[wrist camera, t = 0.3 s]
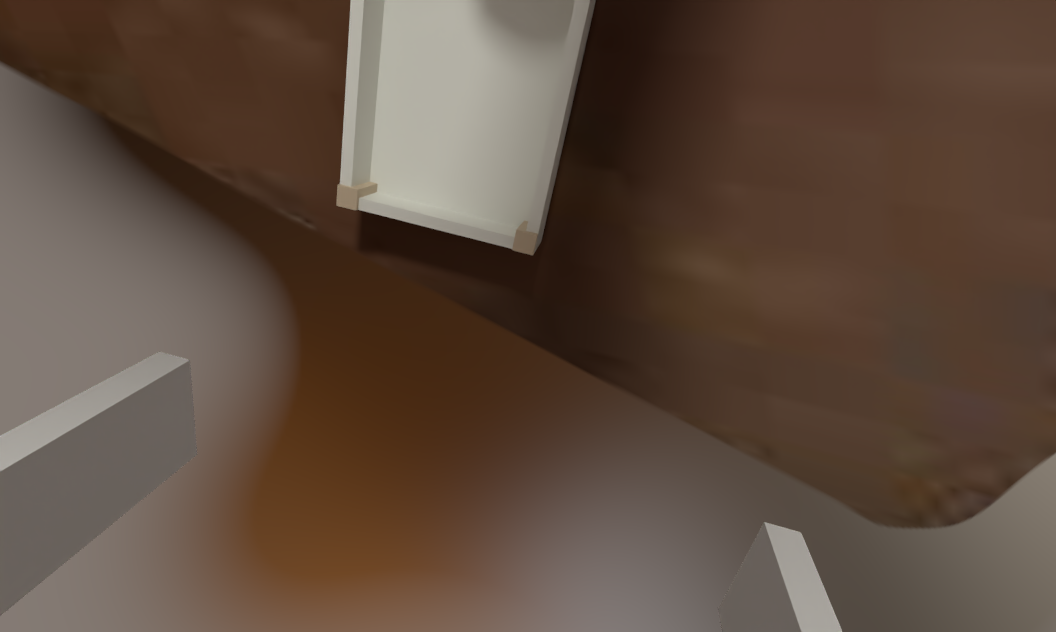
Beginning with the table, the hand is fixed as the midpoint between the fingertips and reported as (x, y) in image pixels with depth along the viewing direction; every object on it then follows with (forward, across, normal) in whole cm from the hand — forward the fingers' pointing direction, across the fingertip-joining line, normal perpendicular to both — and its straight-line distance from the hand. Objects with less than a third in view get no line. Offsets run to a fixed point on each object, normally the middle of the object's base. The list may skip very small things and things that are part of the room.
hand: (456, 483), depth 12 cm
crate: (+27, -8, +7) cm, 29 cm away
